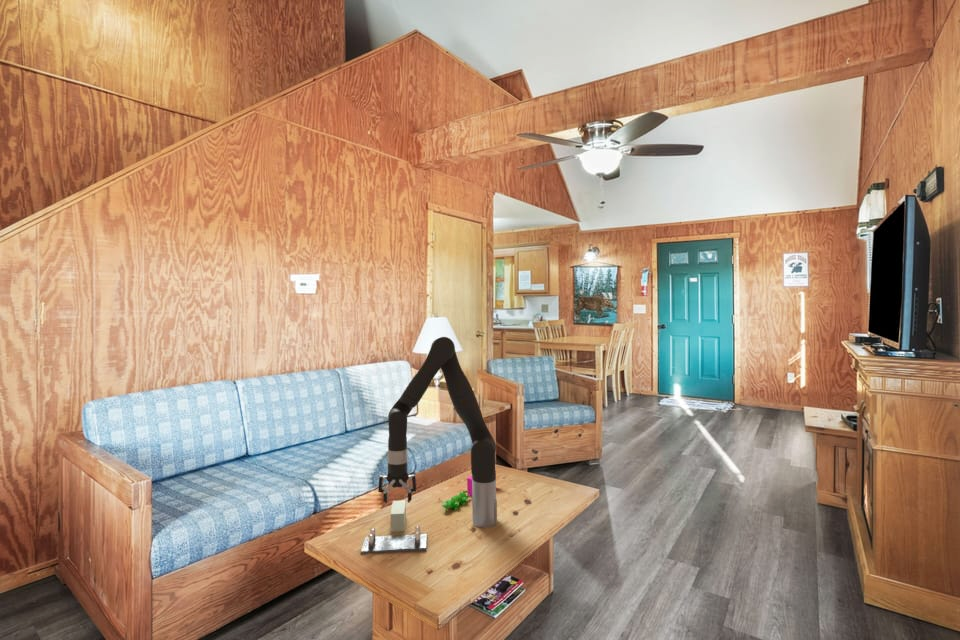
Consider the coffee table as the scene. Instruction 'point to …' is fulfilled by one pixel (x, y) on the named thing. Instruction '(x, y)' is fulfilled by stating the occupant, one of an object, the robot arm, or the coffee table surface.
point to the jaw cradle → (394, 543)
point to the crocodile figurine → (456, 501)
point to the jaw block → (398, 516)
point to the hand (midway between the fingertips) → (397, 502)
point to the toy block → (469, 486)
